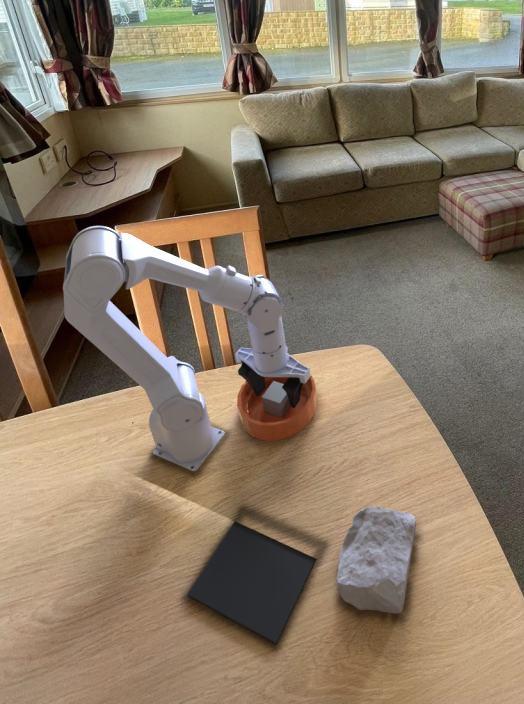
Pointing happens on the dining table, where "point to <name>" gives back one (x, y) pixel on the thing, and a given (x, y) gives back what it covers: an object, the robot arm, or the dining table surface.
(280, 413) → the block
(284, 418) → the bowl
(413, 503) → the dining table surface
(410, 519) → the stone block
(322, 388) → the dining table surface
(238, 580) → the mat
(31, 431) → the dining table surface
